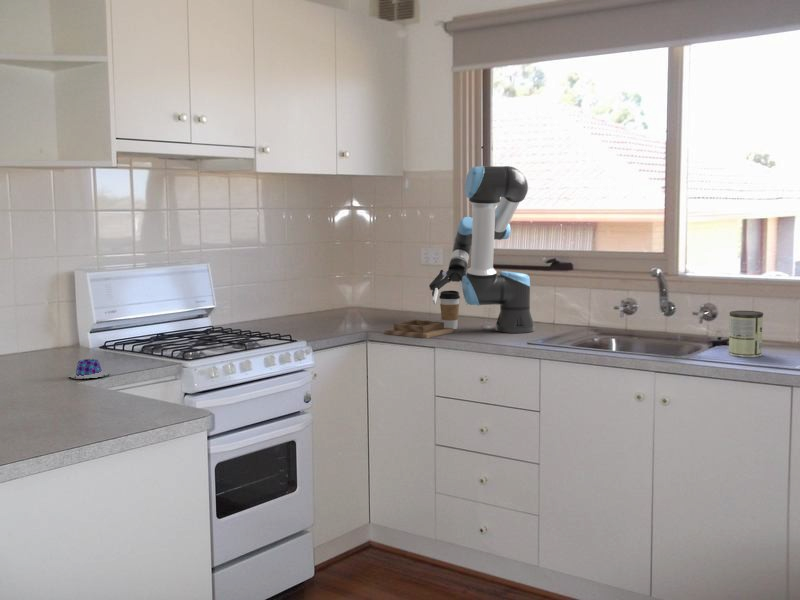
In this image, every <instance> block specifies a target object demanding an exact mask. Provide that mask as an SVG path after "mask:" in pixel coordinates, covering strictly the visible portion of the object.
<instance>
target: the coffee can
mask: <svg viewBox="0 0 800 600" xmlns="http://www.w3.org/2000/svg"><path fill="white" fill-rule="evenodd" d="M763 316H764V312H761V311H757V310H732V311H729V339H728V355H729V356H732V355H733V356H732V357H737V356H741V357H740V358H758V357H759V356H760V357H761V356H763V355H762V353H763V351H762V350H763V349H762V346H763V322H764V321H763V318H764V317H763Z"/></svg>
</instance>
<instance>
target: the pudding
mask: <svg viewBox="0 0 800 600" xmlns="http://www.w3.org/2000/svg"><path fill="white" fill-rule="evenodd" d="M101 371H103V370H102V367H101V363H100V361H99V360H98V359H94V358H87V359H82V360H79V361H77V365H76V370H75V373H76V375H77V376H79V375H81V376H84V375H91V374H95V373H99V372H101Z"/></svg>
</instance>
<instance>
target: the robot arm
mask: <svg viewBox="0 0 800 600" xmlns="http://www.w3.org/2000/svg"><path fill="white" fill-rule="evenodd" d="M528 191H529V184H528V181H527V179H526V176H525V175H524V173H522V172H521V171H520V170H519V169H518V168H517V167H514V166H509V165H507V166H506V165H505V166H502V165H501V166H495V165H494V166H492V165H491V166H489V165H488V166H486V165H484V166H483V165H481V166H473V167H471V168H470V169H469V170H468V172H467V175H466V178H465V183H464V194H465V197H466V198H468V201H469V203H470V204H471V206H472V217H470V216H464V217H462V218H461V220H459V223H458V226H457V230H456V234H455V238H454V243H453V247H452V253H451V254H450V260H449V264H448V270H447V271H444V270H443V269H440V270H439V274H438V275H437V276H436V277H435V278H433V280H432V282H431V283H430V284H429V290H430V291H431V295H432V303H433V305H436V303H437V300H438V296H439V290H440V289H441V288H443V287H444V286H445V285H446V284H449V283H451V282H453V283H454V282H458V283H459V282H461V288H462V289H461V290H462V294H463V298H464V300H465V301H464V302H465V303H464V304H465V305H466V306H469V305H470V306H492V305H493V306H495V305H496V306H497V305H499V306H500V307H499V308H500V309H499V314H498V316H497V319H496V322H495V331H496V332H500V333H505V334H507V333H510V334H522V333H523V334H524V333H525V334H526V333H530V332H531V333H532V332H534V331H535V323H534V320H533V317H532V314H531V306H530V305H531V299H530V298H531V279H530V278H531V277H530V276H529V275H528V274H526V273H522V272H513V271H506V270H504V271H503V270H501V271H500V272H499V274H497V270H496V269H495V268H494V256H495V255H494V251H495V248H494V247H495V241H496V240H500V241H501V240H507V239H509V238H510V236H511V231H512V230H511V225H510V223H511V222H512V221H511V220H512V218H513V216H514V214H515V212H516V210H517V209H518V207H519V204H520V202H522V201H524V200H525V198H526V196H527V194H528ZM470 255H471V257H470ZM469 259H470V267H469V268H468V263H469Z"/></svg>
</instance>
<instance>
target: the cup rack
mask: <svg viewBox="0 0 800 600" xmlns="http://www.w3.org/2000/svg"><path fill="white" fill-rule="evenodd" d="M451 333H454V329H453V328H444V322H442V321H435V320H423V319H412V320H406V321H401V322H396V323H394V324H393V328H389V329H384V334H385V335H391V336H392V335H394V336H402V337H413V338H422V339H429V338H434V337H439V336H443V335H447V334H451Z"/></svg>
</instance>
